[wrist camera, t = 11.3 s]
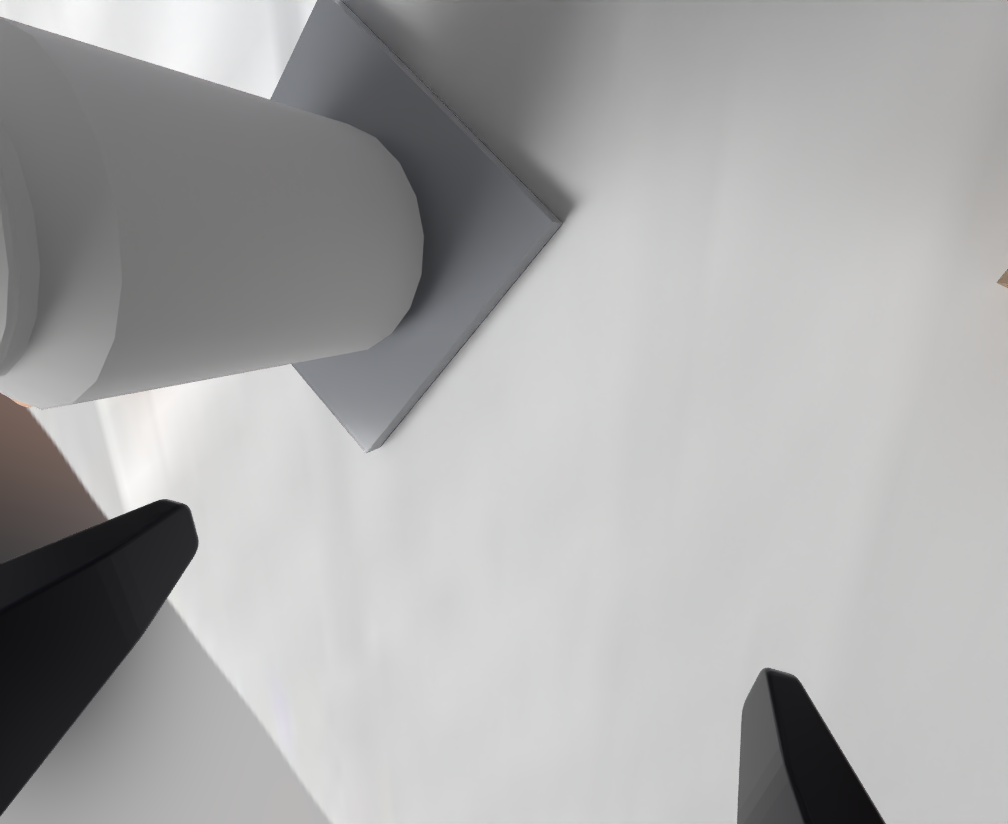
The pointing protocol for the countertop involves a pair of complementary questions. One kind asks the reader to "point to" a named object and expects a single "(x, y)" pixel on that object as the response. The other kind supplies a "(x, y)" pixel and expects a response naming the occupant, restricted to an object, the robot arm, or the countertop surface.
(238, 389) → the countertop surface
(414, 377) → the coaster
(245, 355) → the can
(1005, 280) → the walnut block
